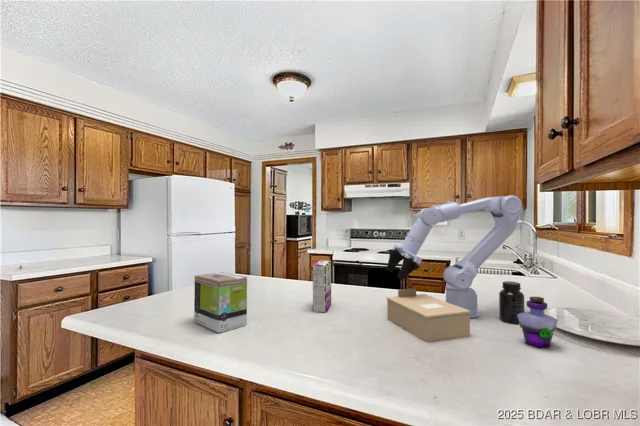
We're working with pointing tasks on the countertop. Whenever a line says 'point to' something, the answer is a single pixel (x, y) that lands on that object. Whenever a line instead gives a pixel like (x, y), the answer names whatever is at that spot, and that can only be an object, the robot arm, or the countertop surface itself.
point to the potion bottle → (537, 324)
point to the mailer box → (429, 324)
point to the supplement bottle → (510, 302)
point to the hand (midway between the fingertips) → (394, 274)
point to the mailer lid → (425, 304)
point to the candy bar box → (321, 286)
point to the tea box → (220, 301)
